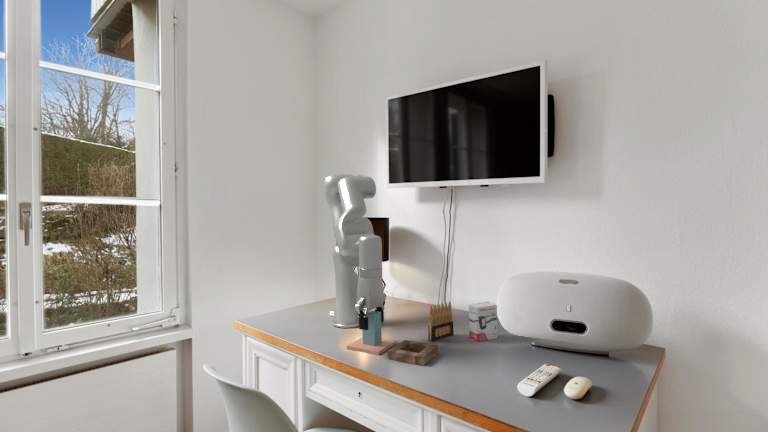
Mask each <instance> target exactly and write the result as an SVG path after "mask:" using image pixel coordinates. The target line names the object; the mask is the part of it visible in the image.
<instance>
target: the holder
mask: <svg viewBox="0 0 768 432" xmlns="http://www.w3.org/2000/svg"><path fill="white" fill-rule="evenodd" d="M387 350H388V351H387V355H388V360H392V361H396V362H401V363H404V364H405V363H406V364H411V365H416V366H417V365H419V366H422V367H423V366H425V365H426V364H428V363H429V362H430V361H431V360H432V359H434V357H436V356H437V355H438V354H439V345H438V344H431V343H429V342H428V343H427V342H422V341H416V340H407V339H404V340H402V341H401V342H400V343H397V344H395V345H394V346H392V347H391V348H389V349H387Z"/></svg>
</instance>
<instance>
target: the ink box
mask: <svg viewBox="0 0 768 432" xmlns="http://www.w3.org/2000/svg"><path fill="white" fill-rule="evenodd" d="M468 327H469V328H468V329H469V331H468V332H469V335H468V336H469V339H471V340H473V341H475V342H477V343H479V342H484V341H490V340H495V339H498V305H497V304H495V303H493V302H490V301H481V302H475V303H470V304H468Z"/></svg>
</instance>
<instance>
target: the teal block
mask: <svg viewBox="0 0 768 432" xmlns="http://www.w3.org/2000/svg"><path fill="white" fill-rule="evenodd" d="M363 312H364V313H365V311H363ZM367 317H368V330H362V337H363V344H366V345H371V346H376V345H377V344H379V343H381V342H382V338H383V337H382V322H381V312H379V311H375V310H369V312H368V315H367Z"/></svg>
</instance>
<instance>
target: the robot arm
mask: <svg viewBox="0 0 768 432" xmlns="http://www.w3.org/2000/svg"><path fill="white" fill-rule="evenodd" d="M323 193H324V197H325V200H326V202H327V204H328V207H329V210H330V214H331V224H332V230H333V235H334V238H335V240H336V243H337V244H336V245H335V247H333V249H332V260H333V266H334V275H335V277H334V278H335V279H334V280H335V310H330V311H329V314H328V316H329V317H330V318H333V320H332V322H331V323H332V326H334V327H337V328H342V329H343V328H344V329H345V328H347V329H350V328H351V329H352V328H357V327H359V328H358V329H359V330H362V331H363V330H368V317H367V315H368V312H369V310H371V311H373V310H374V311H379V312H381V323H384V321H385V315H384V314H385V313H384V311H385V304H386V299H387V295H386V294H384V282H383V248H382V247H383V244H382V238H381V236H379V235H376V234H375V233H374V228H373V224H372V222H371V220H370V219H368V218H367V217H365V215H366V214H367V206H366V202H365V199H366V200H367V199H369V200H370V199H373V198H375V196H376V194H377V186H376V182H375V180H374V179H373V177H371V176H369V175H366V174H349V173H348V174H344V173H343V174H342V173H341V174H339V173H337V174H330V175H328V176H326V177H325V178H324V181H323ZM354 268H359V270H358V273H359V274H357V272H356V271H355V269H354ZM364 312H365V313H364Z"/></svg>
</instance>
